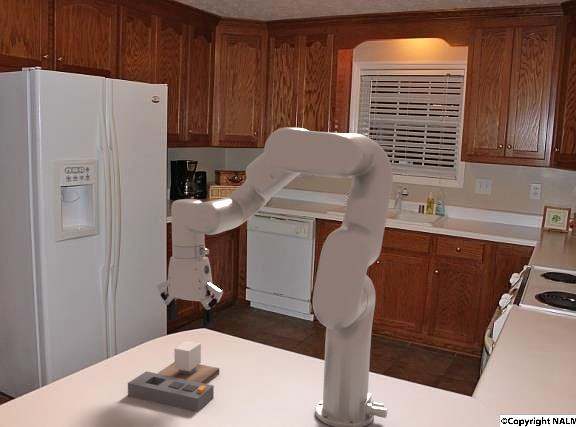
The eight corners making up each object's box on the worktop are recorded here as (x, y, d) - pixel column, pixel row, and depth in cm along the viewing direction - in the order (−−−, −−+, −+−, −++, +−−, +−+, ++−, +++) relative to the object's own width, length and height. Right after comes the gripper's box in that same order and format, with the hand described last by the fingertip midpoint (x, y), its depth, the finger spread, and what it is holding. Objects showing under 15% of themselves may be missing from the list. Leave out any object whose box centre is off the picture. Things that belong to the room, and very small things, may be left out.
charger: (200, 368, 141) (200, 343, 140) (189, 377, 136) (189, 351, 135) (186, 365, 143) (186, 340, 142) (174, 374, 138) (174, 348, 137)
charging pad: (219, 374, 142) (219, 368, 142) (198, 390, 133) (198, 384, 133) (177, 365, 147) (177, 359, 146) (154, 380, 137) (154, 374, 137)
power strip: (213, 398, 129) (213, 382, 129) (197, 411, 123) (197, 395, 122) (146, 383, 136) (146, 368, 135) (127, 395, 129) (127, 379, 129)
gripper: (228, 251, 136) (229, 321, 138) (166, 246, 142) (168, 313, 144) (213, 257, 129) (214, 331, 131) (148, 252, 135) (150, 322, 137)
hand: (190, 322), depth 138 cm, fingers open, 9 cm apart
